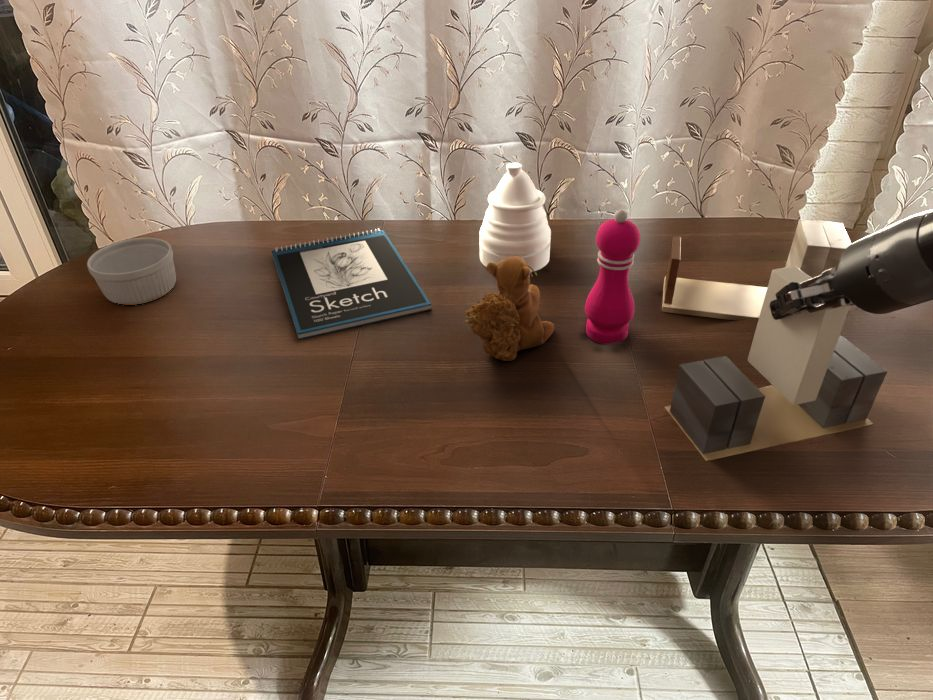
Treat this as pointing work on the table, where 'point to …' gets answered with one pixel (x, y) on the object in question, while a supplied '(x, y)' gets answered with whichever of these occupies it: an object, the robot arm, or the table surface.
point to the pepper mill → (612, 281)
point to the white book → (795, 342)
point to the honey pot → (515, 222)
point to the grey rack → (770, 404)
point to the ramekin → (134, 270)
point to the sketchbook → (346, 283)
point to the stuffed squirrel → (509, 312)
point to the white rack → (809, 252)
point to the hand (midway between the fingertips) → (788, 308)
